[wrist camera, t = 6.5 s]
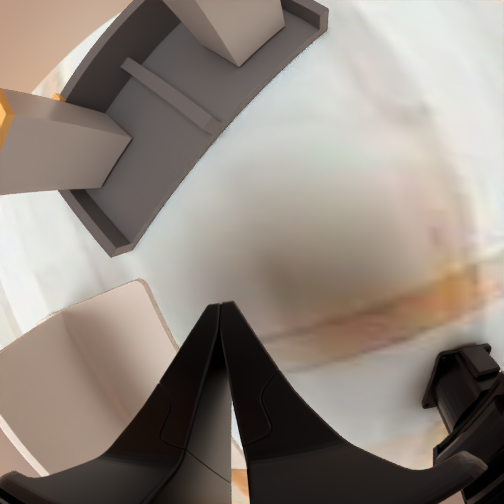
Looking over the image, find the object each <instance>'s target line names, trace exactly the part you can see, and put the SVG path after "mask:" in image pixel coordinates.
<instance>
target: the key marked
mask: <svg viewBox="0 0 504 504" xmlns="http://www.w3.org/2000/svg"><path fill="white" fill-rule="evenodd" d="M131 139H132V137H131V136H129V135H128V134H127V133H126V132H125V131H124V130H123V129H122V128H121V127H120V126H119V125H118V124H117V123H116V122H115V121H114V120H112V119H111V118H110V117H109V116H108V115H107V114H105V113H101V112H98V111H95V110H91V109H88V108H84V107H81V106H77V105H73V104H70V103H66V102H62V101H58V100H54V99H50V98H46V97H41V96H37V95H32V94H27V93H22V92H18V91H13V90H7V89H2V88H0V195H6V194H16V193H26V192H38V191H51V190H68V189H89V188H101V186H102V184H103V183H104V181H105V179H106V178H107V176H108V174H109V173H110V171H111V169H112V168H113V166H114V165H115V163H116V161H117V160H118V158H119V157H120V155H121V154H122V152H123V151H124V149H125V148H126V146H127V145H128V143H129V142H130V140H131Z"/></svg>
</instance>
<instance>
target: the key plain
mask: <svg viewBox="0 0 504 504" xmlns="http://www.w3.org/2000/svg"><path fill="white" fill-rule="evenodd" d="M162 1H163V2H164V3H165V4H166V5H167V6H168V7H169V8H170V9H171V10H172V11H173V12H174V14H175V15H176V16H177V17H178V18H179V19H180V20H181V21H182V23H183V24H184V25H185V26H186V27H187V28H188V30H189V31H190V32H191V33H192V34H193V35H194V37H195V38H196V39H197V40H198V41H199V43H200V44H201V45H203V46H205V47H206V48H208V49H210V50H212V51H213V52H215V53H217V54H218V55H220V56H222V57H223V58H225V59H227V60H228V61H230V62H231V63H233V64H235V65H236V66H238V67H240V66H241V65H242V64H243V63H244V62H245V61H246V60H247V59H248V58H249V57H250V56H251V55H252V54H253V53H254V52H255V51H256V50H258V49H259V48H260V47H261V46H262V45H263V44H264V43H265V42H266V41H268V40H269V39H270V38H271V37H272V36H273V35H274V34H276V33H277V32H278V31H279V30H280V29H282V28H283V27H284V26H285V22H284V17H283V12H282V7H281V2H280V0H162Z"/></svg>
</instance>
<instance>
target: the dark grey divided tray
mask: <svg viewBox="0 0 504 504" xmlns="http://www.w3.org/2000/svg"><path fill="white" fill-rule="evenodd" d="M280 2H281V7H282V12H283V17H284V22H285V26H284V27H283V28H282V29H280V30H279V31H278V32H277V33H276V34H274V35H273V36H272V37H271V38H270V39H269V40H268V41H266V42H265V43H264V44H263V45H262V46H261V47H260V48H259V49H258V50H256V51H255V52H254V53H253V54H252V55H251V56H250V57H249V58H248V59H247V60H246V61H245V62H244V63H243V64H242V65H241V66H240V67H238V66H236V65H235V64H233V63H231V62H230V61H228V60H227V59H225V58H223V57H222V56H220V55H218V54H217V53H215V52H213V51H212V50H210V49H208V48H206V47H205V46H203V45H201V44H200V43H199V41H198V40H197V39H196V38H195V37H194V35H193V34H192V33H191V32H190V31H189V30H188V28H187V27H186V26H185V25H184V24H183V23H182V21H181V20H180V19H179V18H178V17H177V16H176V15H175V14H174V12H173V11H172V10H171V9H170V8H169V7H168V6H167V5H166V4H165V3H164V2H163V1H162V0H133V1H132V3H130V4H129V5H128V6H127V8H126V9H125V10H124V11H123V12H122V13H121V14H120V15H119V16H118V17H117V18H116V19H115V20H114V21H113V23H112V24H111V25H110V26H109V27H108V28H107V29H106V31H105V32H104V33H103V34H102V35H101V37H100V38H99V39H98V40H97V42H96V43H95V44H94V45H93V47H92V48H91V49H90V51H89V52H88V53H87V55H86V56H85V57H84V59H83V60H82V62H81V63H80V64H79V66H78V67H77V69H76V70H75V72H74V73H73V75H72V76H71V78H70V79H69V81H68V82H67V84H66V86H65V87H64V89H63V91H62V92H61V94H57V93H54V95H53V97H52V99H54V100H58V101H62V102H66V103H70V104H73V105H77V106H81V107H84V108H88V109H91V110H95V111H98V112H101V113H105V114H107V115H108V116H109V117H110V118H111V119H112V120H114V121H115V122H116V123H117V124H118V125H119V126H120V127H121V128H122V129H123V130H124V131H125V132H126V133H127V134H128V135H129V136H131V137H132V139H131V140H130V142H129V143H128V145H127V146H126V148H125V149H124V151H123V152H122V154H121V155H120V157H119V158H118V160H117V161H116V163H115V165H114V166H113V168H112V169H111V171H110V173H109V174H108V176H107V178H106V179H105V181H104V183H103V184H102V186H101V188H89V189H68V190H58V191H59V192H60V194H61V195H62V197H63V198H64V199H65V201H66V202H67V204H68V205H69V206H70V208H71V209H72V210H73V212H74V213H75V214H76V216H77V217H78V218H79V219H80V221H81V222H82V223H83V225H84V226H85V227H86V228H87V230H88V231H89V232H90V233H91V235H92V236H93V237H94V238H95V240H96V241H97V242H98V243H99V244H100V246H101V247H102V248H103V249H104V250H105V252H106V253H107V254H108V255H109V256H110V257H111V258H112V257H114V256H117V255H120V254H123V253H126V252H128V251H131V250H133V248H134V247H135V245H136V244H137V242H138V241H139V239H140V238H141V236H142V235H143V234H144V232H145V231H146V229H147V228H148V226H149V225H150V223H151V222H152V221H153V219H154V218H155V216H156V215H157V214H158V212H159V211H160V209H161V208H162V207H163V205H164V204H165V203H166V201H167V200H168V198H169V197H170V196H171V194H172V193H173V192H174V190H175V189H176V188H177V187H178V185H179V184H180V183H181V181H182V180H183V179H184V178H185V176H186V175H187V174H188V172H189V171H190V170H191V169H192V167H193V166H194V165H195V164H196V162H197V161H198V160H199V159H200V158H201V156H202V155H203V154H204V153H205V152H206V150H207V149H208V148H209V147H210V146H211V144H212V143H213V142H214V141H215V140H216V139H217V137H218V136H219V135H220V134H221V133H222V132H223V131H224V129H225V128H226V127H227V126H228V125H229V124H230V123H231V122H232V121H233V119H234V118H235V117H236V116H237V115H238V114H239V113H240V112H241V111H242V110H243V109H244V108H245V106H246V105H247V104H248V103H249V102H250V101H251V100H252V99H253V98H254V97H255V96H256V95H257V94H258V93H259V92H260V91H261V90H262V89H263V88H264V87H265V86H266V85H267V84H268V83H269V82H270V81H271V80H272V79H273V78H274V77H275V76H276V75H277V74H278V73H279V72H280V71H281V70H282V69H283V68H284V67H285V66H287V65H288V64H289V63H290V62H291V61H292V60H293V59H294V58H295V57H296V56H297V55H299V54H300V53H301V52H302V51H303V50H304V49H305V48H306V47H308V46H309V45H310V44H311V43H312V42H313V41H314V40H316V39H317V38H318V37H319V36H320V35H322V34H323V33H324V32H325V31H326V30H327V27H328V13H329V9H328V8H326V7H325V6H323V5H321V4H319V3H317V2H316V1H314V0H280Z"/></svg>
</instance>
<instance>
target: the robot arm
mask: <svg viewBox="0 0 504 504" xmlns="http://www.w3.org/2000/svg"><path fill="white" fill-rule="evenodd" d="M490 352H491V346H490V345H489V344H485V345H477V346H472V347H467V348H461V349H459V350H453V351H446V352H442V353H440V354H439V355H438V357H437V361H436V364H435V367H434V370H433V373H432V377H431V380H430V382H429V385H428V388H427V391H426V394H425V396H424V399H423V402H422V407H423V408H424V409H427V408H432V407H437V409H438V411H439V413H440V415H441V417H442V420H443V422H444V424H445V426H446V429H447V431H448V433H449V435H448V436H447V437H446V438H445V439H444V440H443V441H442V442H441V443H440V444H438V445H437V446H436V447H434V448H433V467H432V468H429V469H424V470H412V469H408V468H405V467H402V466H400V465H397V464H395V463H392V462H390V461H387V460H385V459H383V458H381V457H378V456H376V455H374V454H372V453H369V452H367V451H365V450H363V449H361V448H359V447H357V446H355V445H353V444H351V443H350V442H348V441H347V440H346V439H344V438H343V437H342V436H340V435H339V434H338V433H337V432H336V431H335V430H334V429H333V428H331V427H330V426H329V425H328V424H327V423H326V422H325V421H324V420H323V419H322V418H321V417H320V416H319V415H318V414H317V413H316V412H315V411H314V410H313V409H312V408H311V407H310V406H309V405H308V404H307V403H306V402H305V401H304V400H303V399H302V398H301V396H300V395H299V394H298V393H297V392H296V391H295V390H294V388H293V387H292V386H291V384H290V383H289V382H288V381H287V379H286V378H285V376H284V375H283V374H282V372H281V371H280V370H279V368H278V367H277V365H276V364H275V362H274V361H273V359H272V358H271V356H270V355H269V353H268V352H267V350H266V349H265V347H264V346H263V344H262V343H261V341H260V340H259V338H258V337H257V335H256V334H255V332H254V331H253V329H252V328H251V326H250V325H249V323H248V322H247V320H246V319H245V317H244V316H243V314H242V313H241V311H240V309H239V308H238V306H237V305H236V303H235V302H234V301H228V302H223V303H222V304H220V303H215V304H209V305H208V306H207V307H206V309H205V310H204V312H203V313H202V315H201V316H200V318H199V320H198V321H197V323H196V324H195V326H194V327H193V329H192V330H191V332H190V334H189V335H188V337H187V338H186V340H185V341H184V343H183V345H182V346H181V348H180V349H179V351H178V352H177V354H176V356H175V357H174V359H173V360H172V362H171V363H170V365H169V367H168V368H167V370H166V371H165V373H164V374H163V376H162V378H161V379H160V381H159V383H158V384H157V385H156V387H155V389H154V390H153V392H152V393H151V395H150V396H149V398H148V399H147V401H146V402H145V404H144V405H143V406H142V408H141V409H140V410H139V412H138V413H137V414H136V416H135V417H134V418H133V419H132V421H131V422H130V423H129V424H128V426H127V427H126V428H125V429H124V430H123V432H122V433H121V434H120V435H119V437H118V438H117V439H116V440H115V441H114V443H113V444H112V445H111V446H110V447H109V448H108V449H107V450H106V451H105V452H104V453H103V454H101V455H100V456H98V457H97V458H95V459H93V460H90V461H88V462H85V463H82V464H80V465H77V466H74V467H72V468H69V469H66V470H63V471H60V472H57V473H54V474H51V475H48V476H44V477H38V478H32V477H27V476H25V475H23V474H21V473H19V472H17V471H11V472H9V473H7V474H4V475H3V476H1V477H0V504H232V500H231V405H232V401H233V406H234V411H235V416H236V420H237V425H238V430H239V434H240V439H241V443H242V447H243V452H244V456H245V462H246V467H247V477H248V488H249V498H250V504H504V371H501V372H499V371H500V367H499V365H498V364H497V363H496V362H495V361H494V359H493V358H492V357H491V356H490V355H489V354H490ZM443 357H444V358H443ZM442 358H443V359H442Z"/></svg>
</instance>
